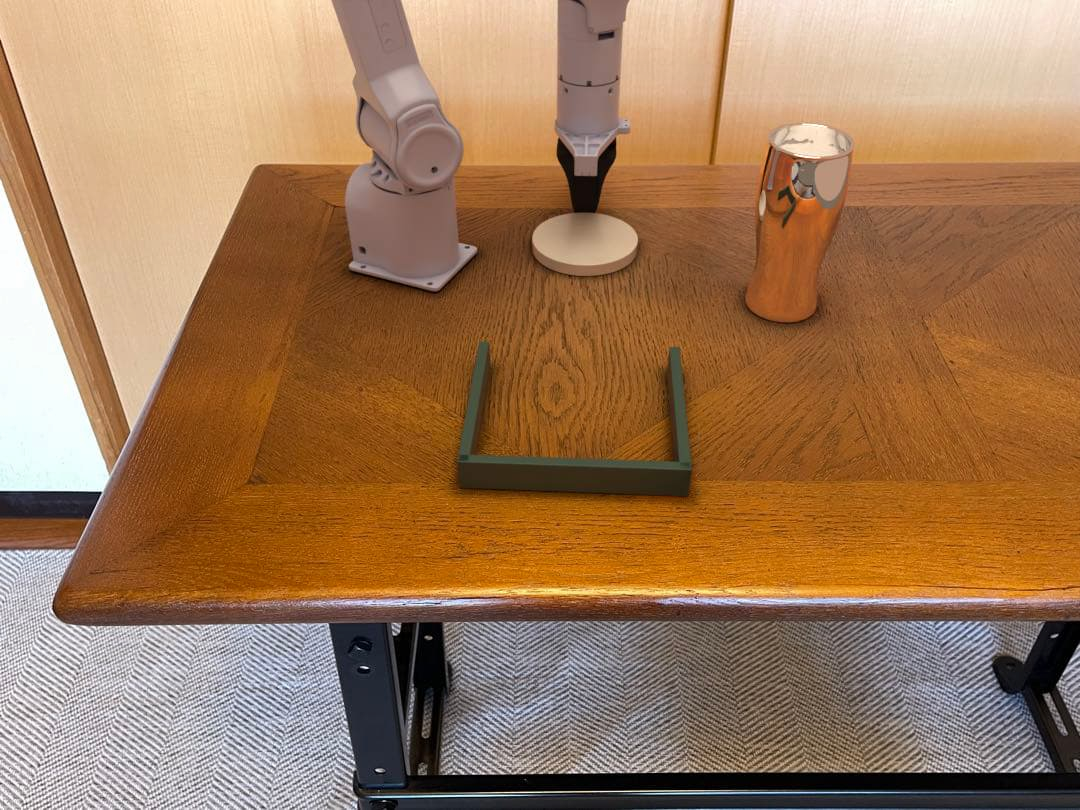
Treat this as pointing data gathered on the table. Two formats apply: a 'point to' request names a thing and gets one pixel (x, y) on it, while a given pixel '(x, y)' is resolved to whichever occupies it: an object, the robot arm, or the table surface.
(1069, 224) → the table surface
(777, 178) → the beer glass
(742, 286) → the table surface
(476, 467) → the green u-shaped bracket
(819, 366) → the table surface
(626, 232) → the plate
